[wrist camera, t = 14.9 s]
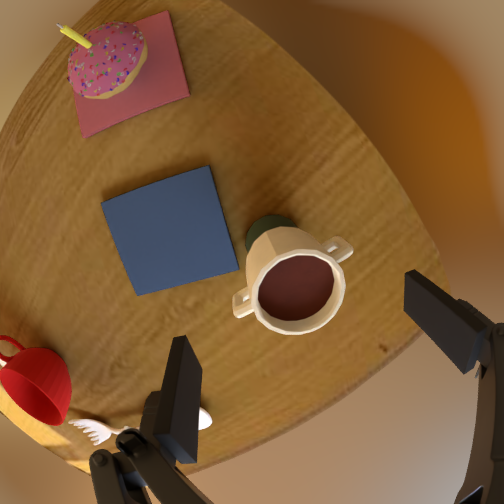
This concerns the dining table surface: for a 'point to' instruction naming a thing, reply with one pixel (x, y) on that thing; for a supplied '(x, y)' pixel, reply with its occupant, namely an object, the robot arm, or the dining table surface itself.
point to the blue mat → (171, 232)
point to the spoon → (105, 431)
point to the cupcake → (105, 59)
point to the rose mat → (140, 81)
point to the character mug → (291, 277)
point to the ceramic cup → (37, 382)
